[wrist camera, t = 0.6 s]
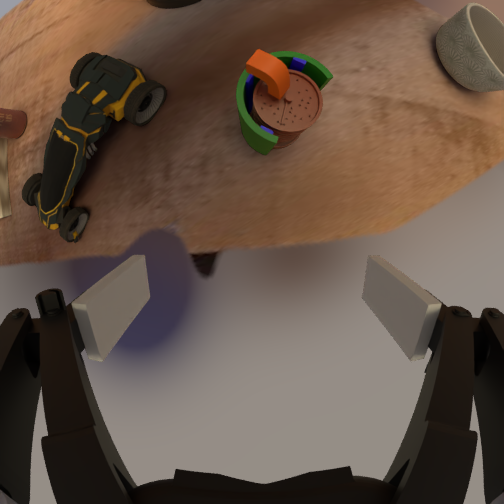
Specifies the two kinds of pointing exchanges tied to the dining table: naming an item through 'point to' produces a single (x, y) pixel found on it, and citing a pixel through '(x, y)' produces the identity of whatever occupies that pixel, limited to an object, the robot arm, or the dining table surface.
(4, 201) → the board
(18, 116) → the beverage can
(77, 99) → the toy car
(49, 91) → the dining table surface
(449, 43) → the planter
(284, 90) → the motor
